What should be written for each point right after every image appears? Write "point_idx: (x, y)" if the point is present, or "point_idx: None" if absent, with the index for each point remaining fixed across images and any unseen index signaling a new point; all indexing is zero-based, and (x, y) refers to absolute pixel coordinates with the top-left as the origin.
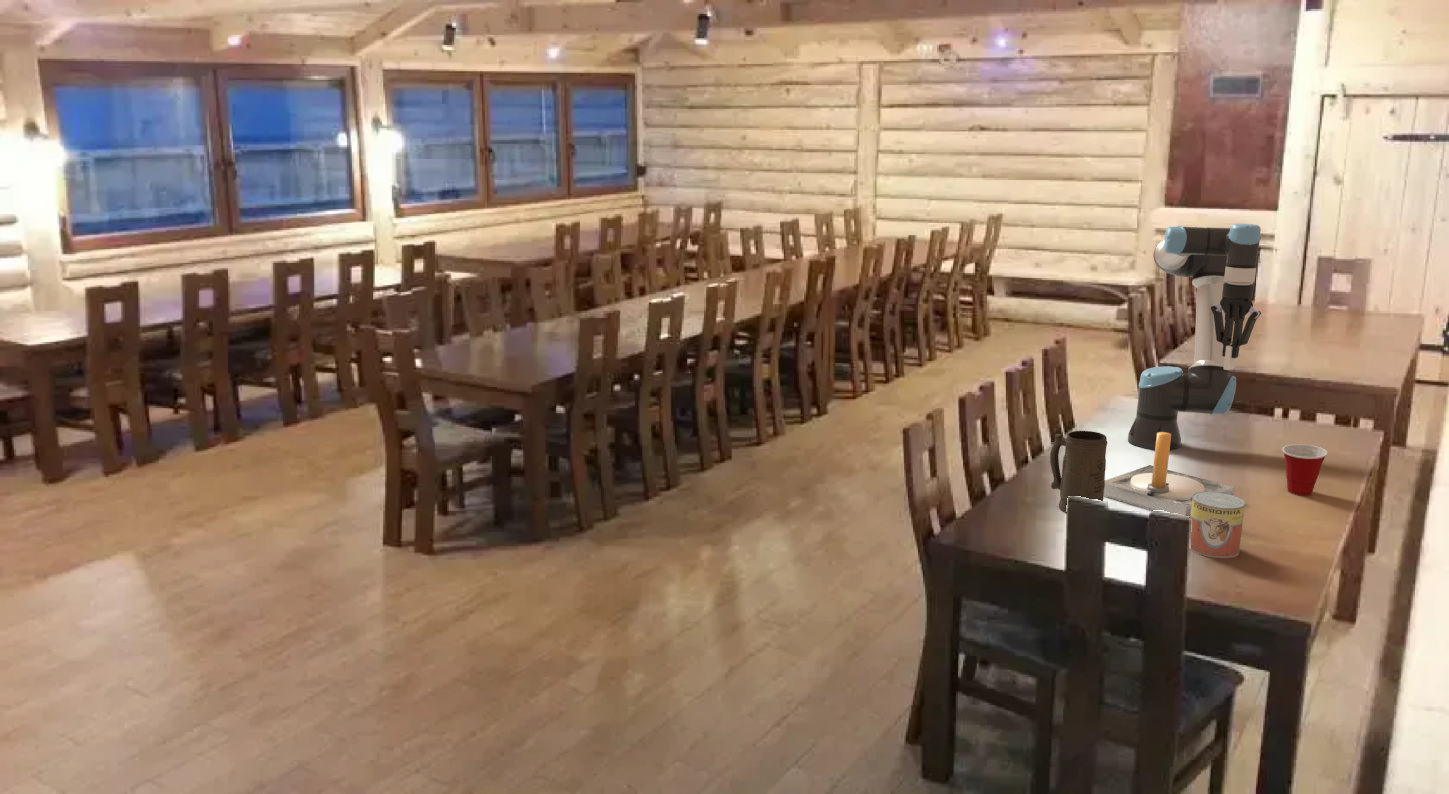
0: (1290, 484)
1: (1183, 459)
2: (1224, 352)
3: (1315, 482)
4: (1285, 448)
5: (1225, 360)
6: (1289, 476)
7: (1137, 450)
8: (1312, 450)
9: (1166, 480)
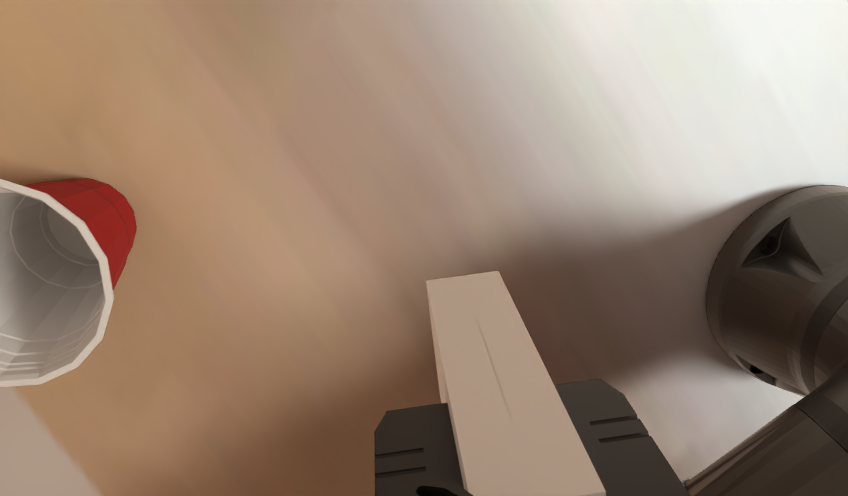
0: (84, 183)
1: (612, 198)
2: (598, 424)
3: (10, 251)
4: (100, 265)
5: (510, 330)
6: (74, 187)
7: (802, 139)
8: (34, 362)
9: None
